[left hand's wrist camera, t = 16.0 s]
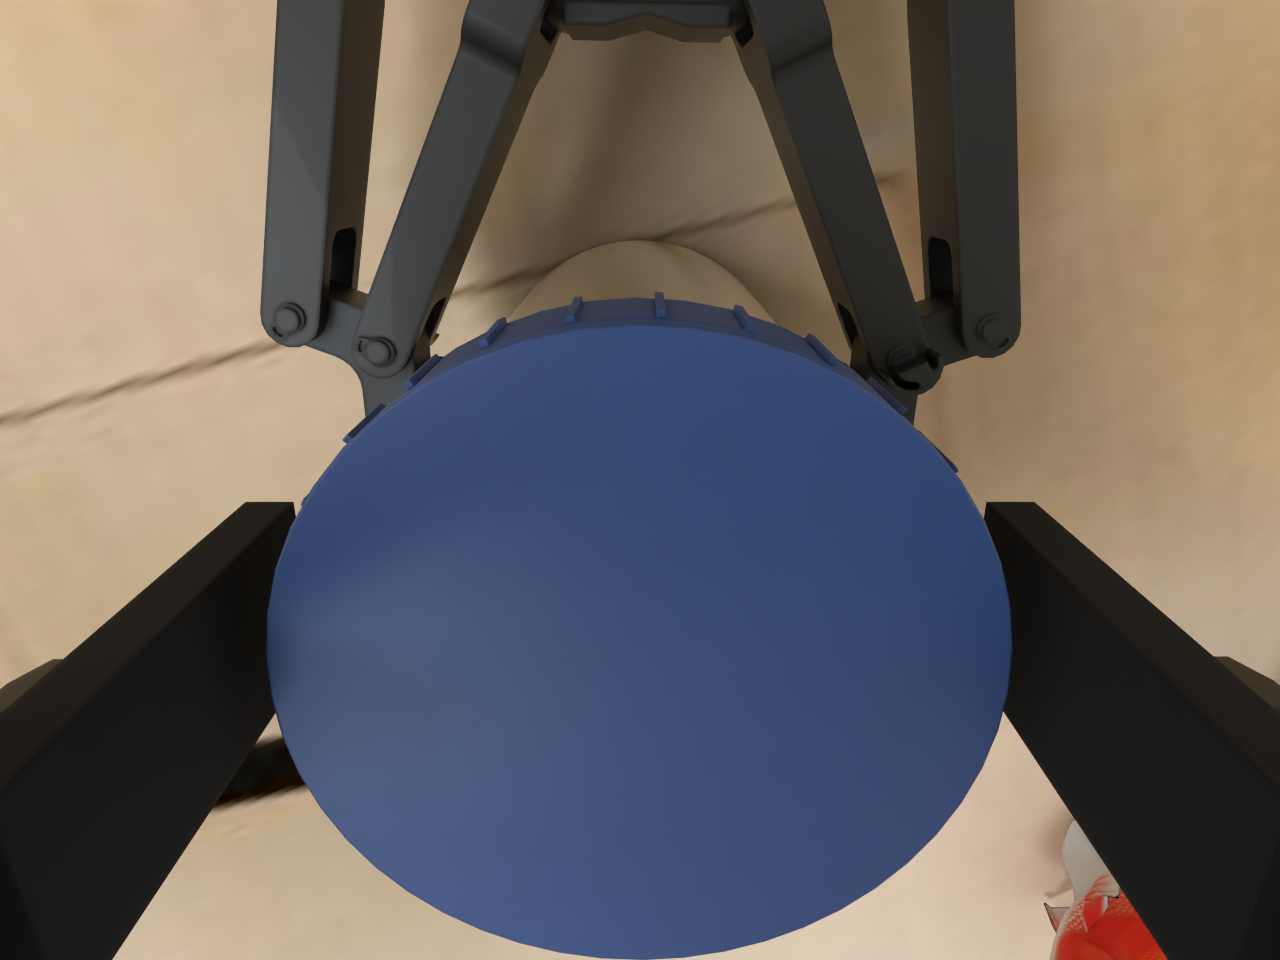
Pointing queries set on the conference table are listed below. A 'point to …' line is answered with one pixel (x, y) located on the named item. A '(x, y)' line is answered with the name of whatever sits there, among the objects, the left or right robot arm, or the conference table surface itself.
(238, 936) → the conference table surface
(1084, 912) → the fish
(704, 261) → the jar
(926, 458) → the lid
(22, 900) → the left robot arm
